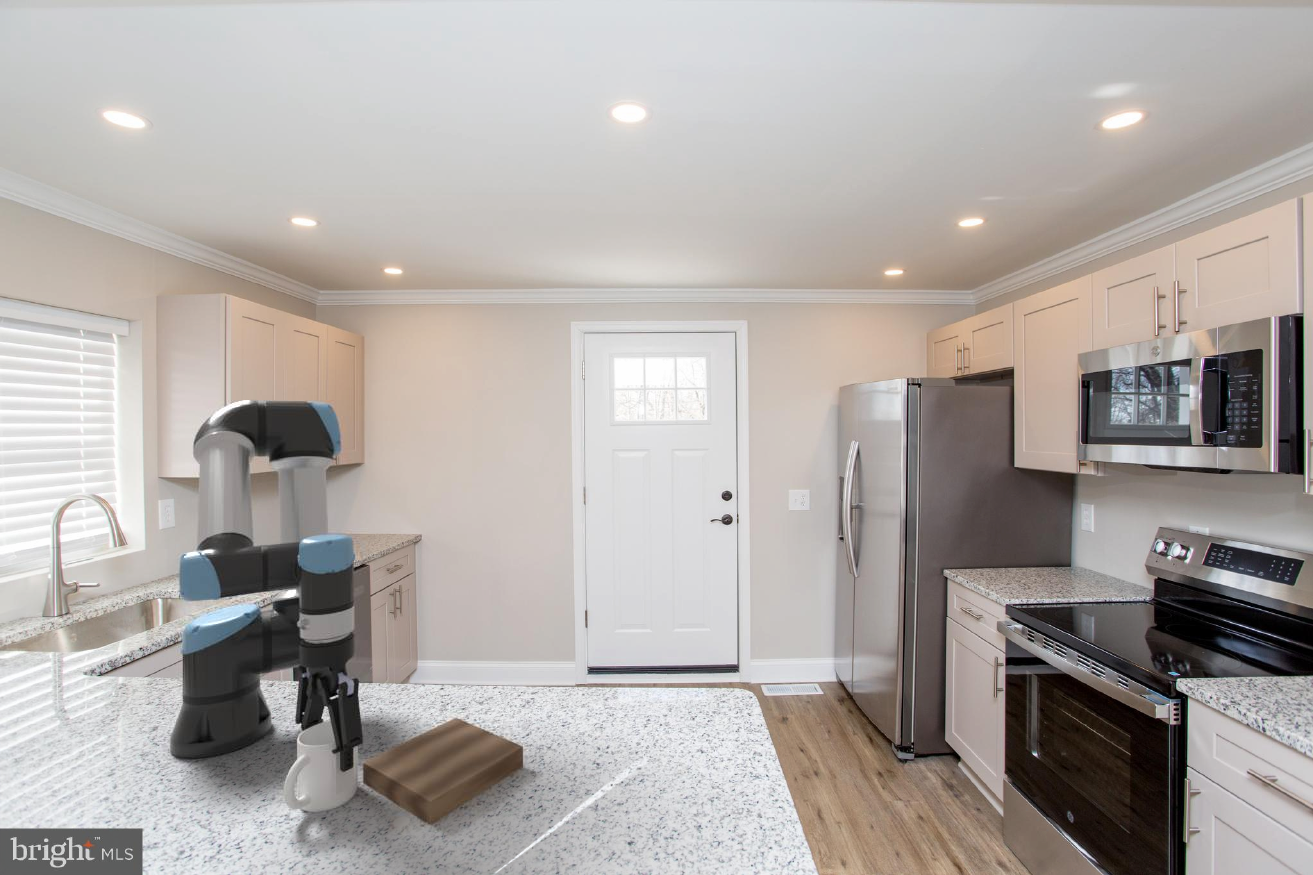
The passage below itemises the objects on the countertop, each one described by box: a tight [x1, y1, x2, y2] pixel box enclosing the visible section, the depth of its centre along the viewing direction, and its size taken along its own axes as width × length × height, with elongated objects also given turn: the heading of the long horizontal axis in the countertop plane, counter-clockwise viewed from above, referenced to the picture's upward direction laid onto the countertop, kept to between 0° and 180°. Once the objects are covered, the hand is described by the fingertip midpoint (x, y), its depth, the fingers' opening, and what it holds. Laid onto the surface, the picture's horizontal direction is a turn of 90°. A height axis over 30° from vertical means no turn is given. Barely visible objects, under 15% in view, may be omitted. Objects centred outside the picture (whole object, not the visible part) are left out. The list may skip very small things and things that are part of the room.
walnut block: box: [362, 717, 524, 826], centre depth 98 cm, size 18×18×4 cm
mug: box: [283, 720, 359, 813], centre depth 90 cm, size 12×8×10 cm
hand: (328, 779), depth 92 cm, fingers closed on mug, 8 cm apart
